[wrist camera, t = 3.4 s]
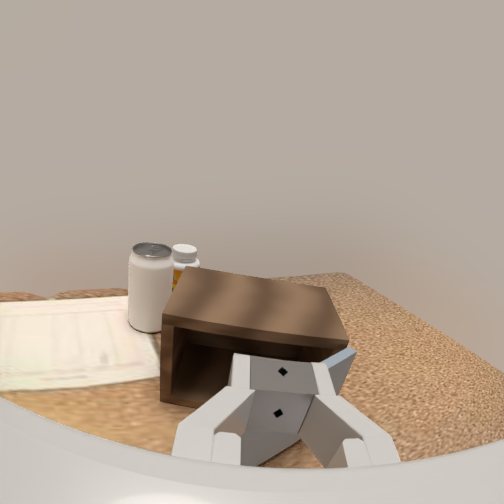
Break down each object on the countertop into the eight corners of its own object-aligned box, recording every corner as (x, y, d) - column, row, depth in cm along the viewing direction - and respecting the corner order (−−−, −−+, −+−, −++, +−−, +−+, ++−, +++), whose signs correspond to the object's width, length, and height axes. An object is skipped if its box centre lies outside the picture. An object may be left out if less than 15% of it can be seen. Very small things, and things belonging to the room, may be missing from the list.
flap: (191, 498, 21) (197, 432, 17) (184, 490, 21) (189, 421, 18) (324, 422, 32) (356, 351, 29) (318, 417, 33) (348, 346, 29)
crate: (160, 401, 32) (162, 313, 29) (179, 342, 44) (185, 265, 40) (315, 420, 33) (349, 340, 30) (303, 360, 45) (325, 287, 41)
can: (120, 325, 44) (120, 250, 40) (140, 307, 50) (143, 238, 47) (158, 339, 44) (162, 262, 40) (176, 318, 50) (182, 247, 46)
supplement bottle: (160, 296, 55) (164, 241, 52) (189, 294, 58) (195, 241, 55) (168, 313, 51) (172, 254, 47) (199, 310, 53) (206, 254, 50)
